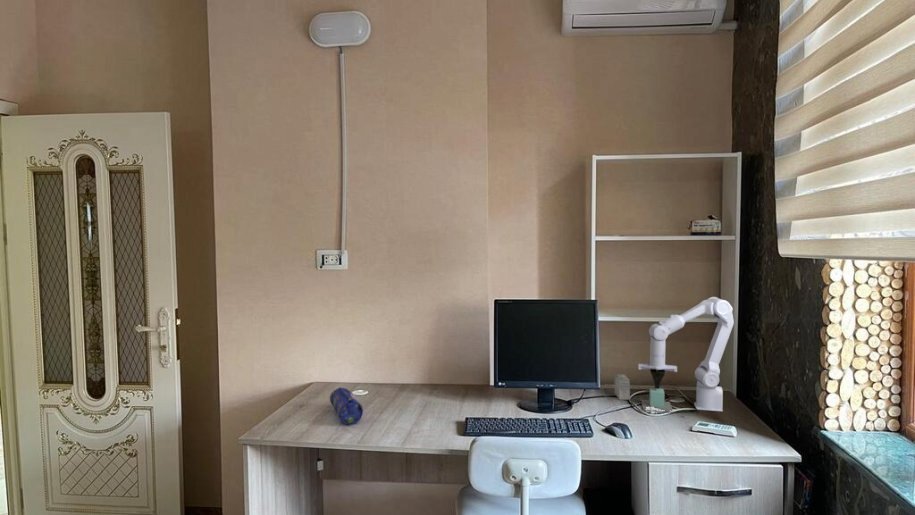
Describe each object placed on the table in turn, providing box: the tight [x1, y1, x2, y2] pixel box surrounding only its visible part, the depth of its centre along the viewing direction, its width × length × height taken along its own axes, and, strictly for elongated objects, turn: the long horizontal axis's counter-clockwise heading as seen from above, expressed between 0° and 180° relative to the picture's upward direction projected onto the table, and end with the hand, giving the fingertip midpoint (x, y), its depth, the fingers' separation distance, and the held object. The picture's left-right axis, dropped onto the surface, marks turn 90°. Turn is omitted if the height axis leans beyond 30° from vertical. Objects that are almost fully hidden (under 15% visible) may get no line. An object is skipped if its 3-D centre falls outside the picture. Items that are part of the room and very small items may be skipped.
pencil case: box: [329, 387, 364, 426], centre depth 216 cm, size 22×9×10 cm, turn 24°
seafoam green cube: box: [648, 387, 665, 408], centre depth 224 cm, size 5×5×6 cm
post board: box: [640, 399, 673, 411], centre depth 225 cm, size 11×11×5 cm
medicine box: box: [614, 374, 631, 401], centre depth 237 cm, size 8×4×9 cm, turn 179°
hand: (656, 388), depth 224 cm, fingers closed
